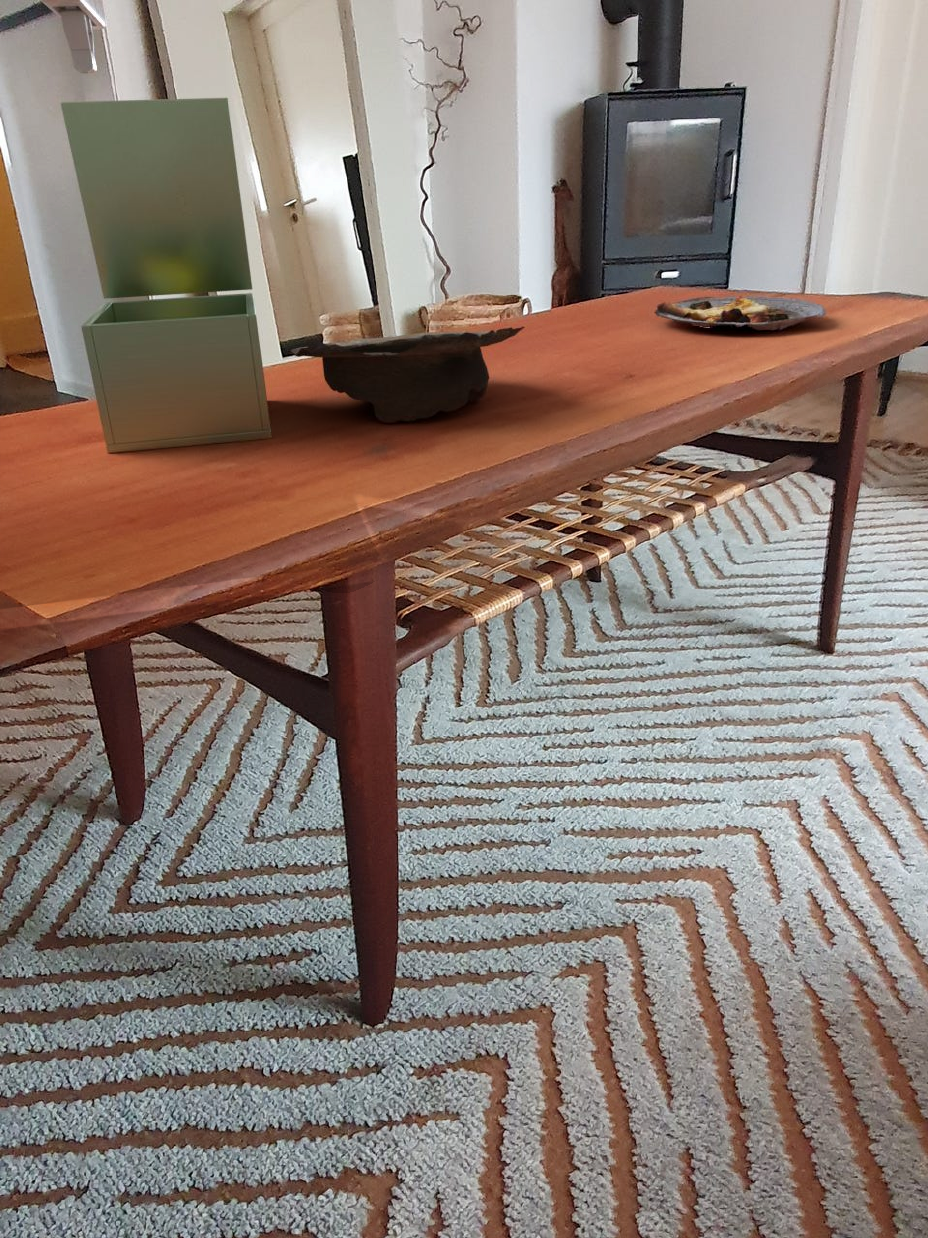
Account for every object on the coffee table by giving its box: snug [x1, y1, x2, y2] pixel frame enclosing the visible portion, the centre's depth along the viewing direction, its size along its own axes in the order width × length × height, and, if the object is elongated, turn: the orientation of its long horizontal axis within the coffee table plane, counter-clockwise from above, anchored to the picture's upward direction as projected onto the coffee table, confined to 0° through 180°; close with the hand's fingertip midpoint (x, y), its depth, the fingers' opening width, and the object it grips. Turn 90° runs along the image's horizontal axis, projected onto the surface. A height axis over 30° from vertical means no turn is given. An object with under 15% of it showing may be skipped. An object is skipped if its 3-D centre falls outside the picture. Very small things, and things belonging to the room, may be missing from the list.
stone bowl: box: [290, 326, 526, 424], centre depth 102 cm, size 25×25×9 cm
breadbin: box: [80, 292, 273, 454], centre depth 96 cm, size 18×16×12 cm
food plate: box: [654, 295, 827, 331], centre depth 143 cm, size 25×23×4 cm
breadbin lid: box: [60, 97, 253, 300], centre depth 97 cm, size 18×16×5 cm
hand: (86, 72), depth 92 cm, fingers closed
